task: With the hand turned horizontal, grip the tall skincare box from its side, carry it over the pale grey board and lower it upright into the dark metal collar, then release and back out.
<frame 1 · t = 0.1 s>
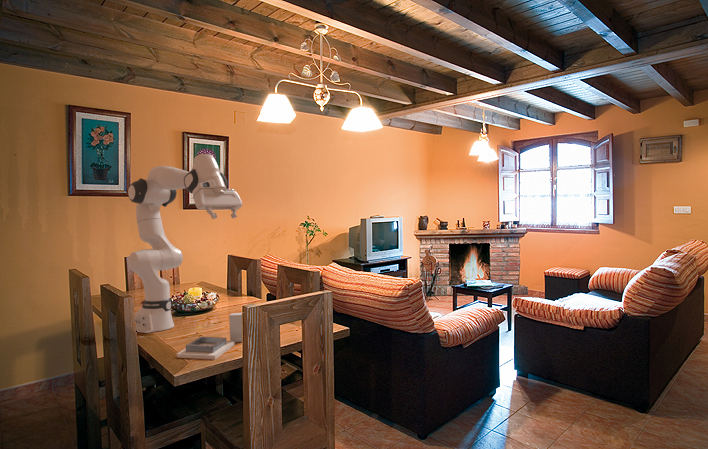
hand: (224, 217, 172), 54 cm above the table, tool tilted 30°, fingers open, 8 cm apart
collar board: (206, 351, 173), on the table
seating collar: (206, 344, 173), on the collar board, point 2 cm above the table
skincare box: (237, 341, 186), on the table
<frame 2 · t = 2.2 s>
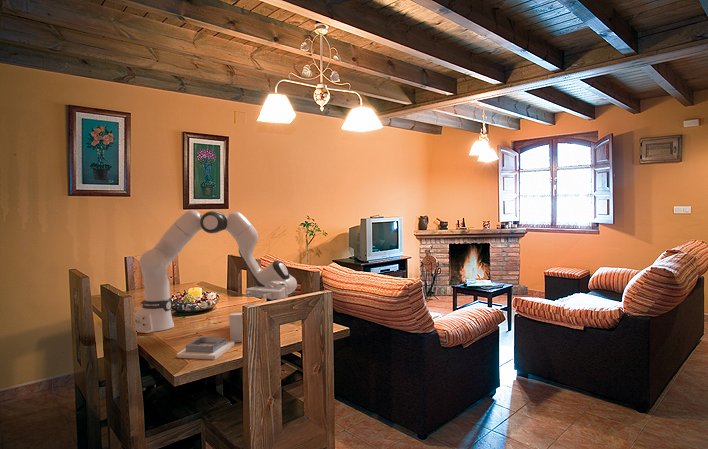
hand: (254, 296, 196), 18 cm above the table, tool horizontal, fingers open, 8 cm apart
nothing on the table moved.
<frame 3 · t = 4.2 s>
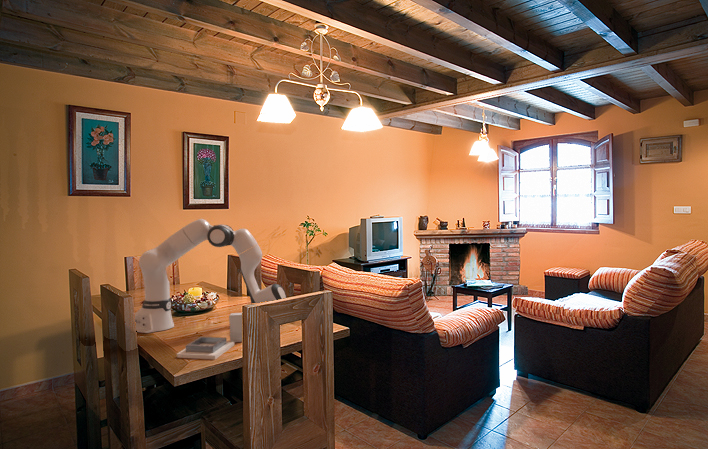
hand: (250, 321, 194), 6 cm above the table, tool horizontal, fingers open, 8 cm apart
nothing on the table moved.
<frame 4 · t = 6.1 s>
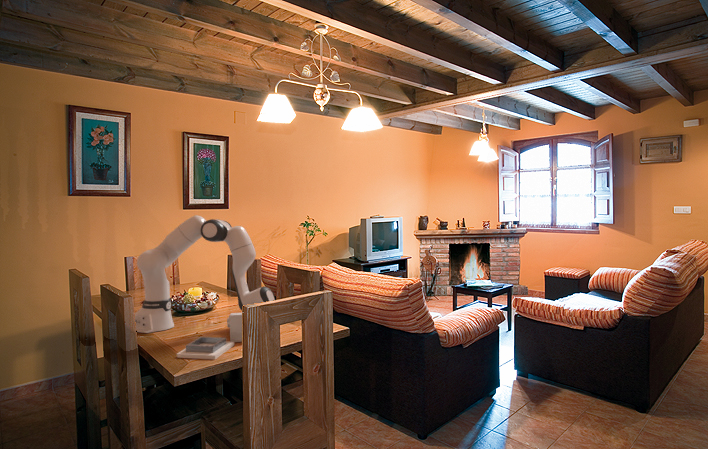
hand: (236, 326, 185), 7 cm above the table, tool horizontal, fingers closed on skincare box, 7 cm apart
skincare box: (237, 341, 186), on the table, touching gripper
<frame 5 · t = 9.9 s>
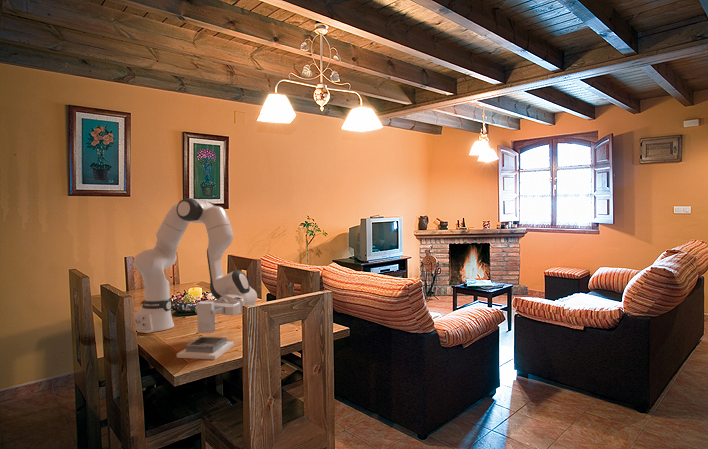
hand: (204, 311, 172), 16 cm above the table, tool horizontal, fingers closed on skincare box, 7 cm apart
skincare box: (206, 332, 173), point 8 cm above the table, touching gripper
when the fingers open (10 cm above the table, at t = 12.0 s): skincare box stays where it is, resting on collar board.
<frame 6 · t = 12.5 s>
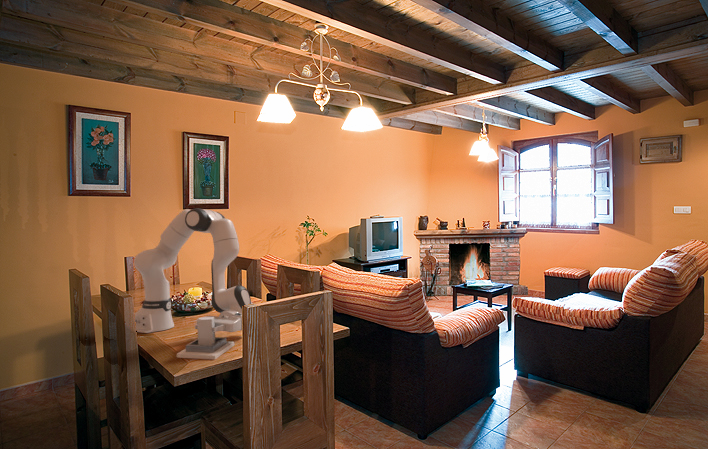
hand: (204, 328, 172), 10 cm above the table, tool horizontal, fingers open, 8 cm apart
skincare box: (206, 348, 173), point 1 cm above the table, touching collar board
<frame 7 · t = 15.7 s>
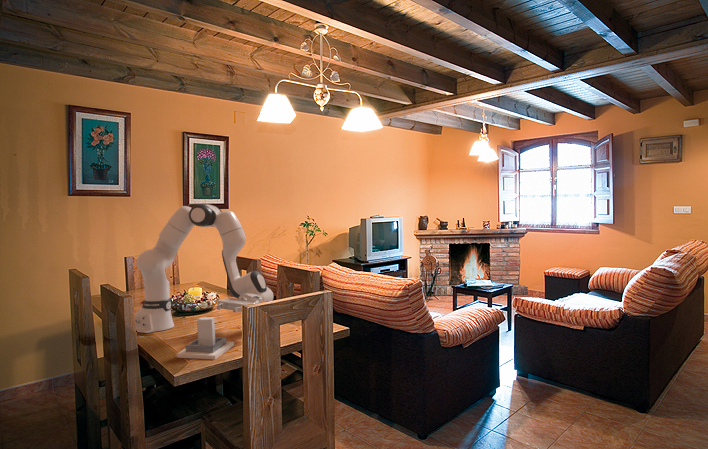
hand: (225, 309, 184), 15 cm above the table, tool horizontal, fingers open, 8 cm apart
nothing on the table moved.
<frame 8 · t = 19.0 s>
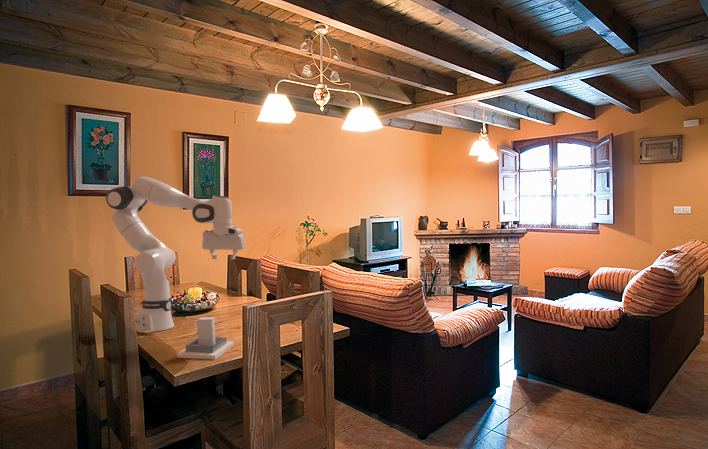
hand: (223, 259, 202), 34 cm above the table, tool pointing down, fingers open, 8 cm apart
nothing on the table moved.
at the end: skincare box 0.0 cm off-centre on the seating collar, point 1.3 cm above the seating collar's base; skincare box tilted 0°; the gripper is holding nothing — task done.
